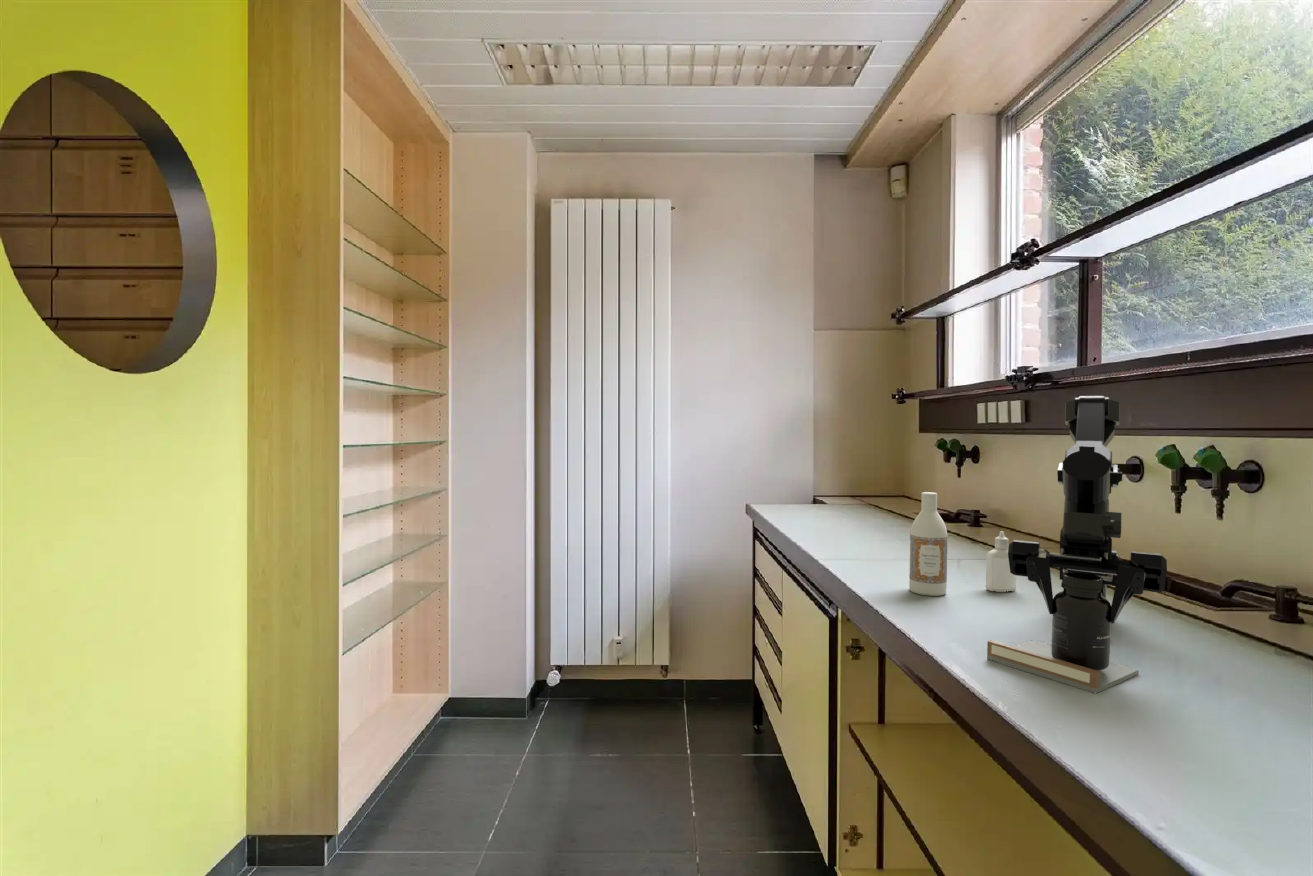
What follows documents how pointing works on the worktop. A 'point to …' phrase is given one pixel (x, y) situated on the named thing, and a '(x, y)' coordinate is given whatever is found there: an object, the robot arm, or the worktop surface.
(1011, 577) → the eye dropper bottle
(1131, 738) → the worktop surface
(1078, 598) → the supplement bottle
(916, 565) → the bath foam
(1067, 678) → the shelf board
